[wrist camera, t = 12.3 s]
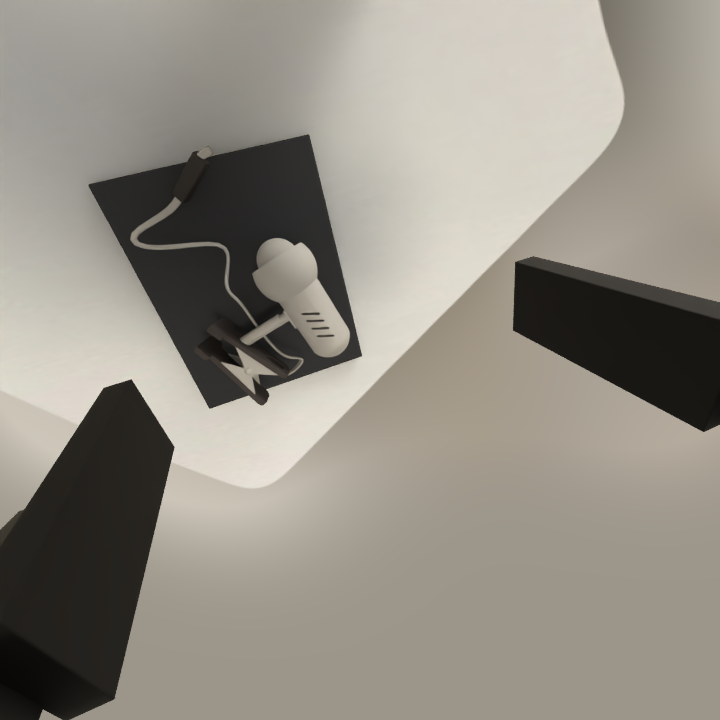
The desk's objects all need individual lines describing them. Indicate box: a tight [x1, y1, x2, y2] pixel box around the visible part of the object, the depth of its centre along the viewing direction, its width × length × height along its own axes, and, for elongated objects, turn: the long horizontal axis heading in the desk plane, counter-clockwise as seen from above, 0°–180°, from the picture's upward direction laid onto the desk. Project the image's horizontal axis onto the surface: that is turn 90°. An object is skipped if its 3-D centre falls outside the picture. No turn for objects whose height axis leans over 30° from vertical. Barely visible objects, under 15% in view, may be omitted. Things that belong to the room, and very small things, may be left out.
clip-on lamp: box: [130, 146, 350, 405], centre depth 27 cm, size 12×6×18 cm
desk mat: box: [89, 135, 362, 408], centre depth 30 cm, size 20×16×1 cm
